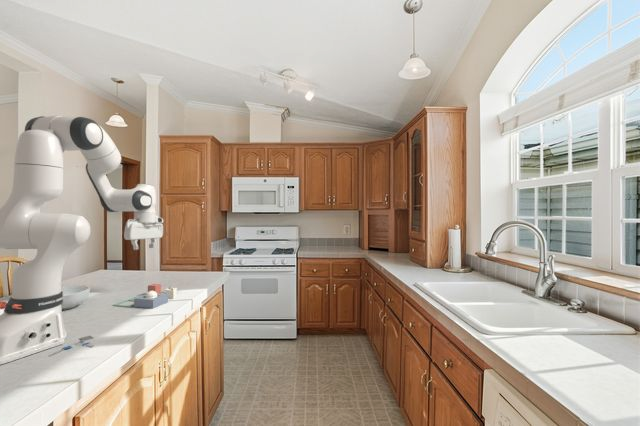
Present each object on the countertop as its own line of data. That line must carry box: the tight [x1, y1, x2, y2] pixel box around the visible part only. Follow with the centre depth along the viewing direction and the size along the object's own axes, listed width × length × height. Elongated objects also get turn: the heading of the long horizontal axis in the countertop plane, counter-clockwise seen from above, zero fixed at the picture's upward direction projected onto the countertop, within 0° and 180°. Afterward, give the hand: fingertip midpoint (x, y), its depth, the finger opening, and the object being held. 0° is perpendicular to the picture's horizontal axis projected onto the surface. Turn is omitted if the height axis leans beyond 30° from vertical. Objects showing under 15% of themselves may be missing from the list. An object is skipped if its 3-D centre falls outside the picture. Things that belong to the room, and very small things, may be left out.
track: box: [112, 291, 164, 308], centre depth 139 cm, size 23×9×1 cm, turn 169°
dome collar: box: [133, 293, 169, 309], centre depth 131 cm, size 9×9×4 cm
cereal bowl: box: [61, 285, 91, 311], centre depth 125 cm, size 17×17×7 cm
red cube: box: [147, 283, 162, 294], centre depth 146 cm, size 4×4×4 cm
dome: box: [145, 291, 157, 298], centre depth 131 cm, size 4×4×5 cm
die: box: [163, 287, 178, 300], centre depth 142 cm, size 4×4×5 cm
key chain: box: [48, 335, 95, 357], centre depth 91 cm, size 14×8×1 cm, turn 4°
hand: (144, 248), depth 143 cm, fingers open, 8 cm apart
